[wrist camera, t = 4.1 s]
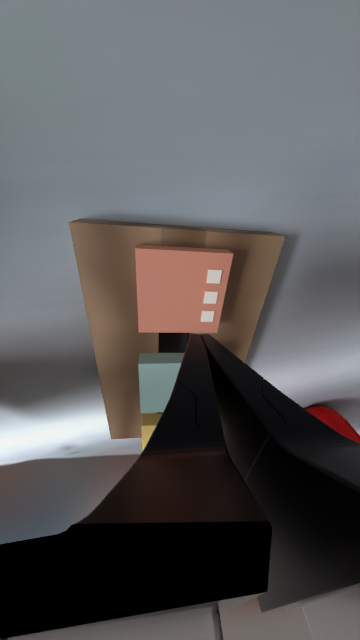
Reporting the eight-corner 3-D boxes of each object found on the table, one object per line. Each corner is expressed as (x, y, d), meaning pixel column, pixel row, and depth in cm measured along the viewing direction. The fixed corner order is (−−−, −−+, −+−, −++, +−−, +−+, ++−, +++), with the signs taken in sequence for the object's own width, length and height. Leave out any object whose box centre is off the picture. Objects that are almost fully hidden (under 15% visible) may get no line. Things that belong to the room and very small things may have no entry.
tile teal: (142, 386, 20) (140, 413, 18) (141, 339, 17) (138, 364, 15) (200, 384, 21) (206, 411, 18) (208, 339, 18) (217, 363, 15)
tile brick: (141, 312, 17) (138, 333, 15) (139, 239, 14) (135, 248, 12) (208, 313, 18) (217, 333, 15) (220, 244, 15) (233, 254, 12)
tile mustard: (144, 430, 24) (142, 458, 22) (143, 398, 21) (141, 426, 19) (192, 427, 25) (196, 454, 23) (197, 397, 22) (203, 423, 19)
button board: (114, 423, 26) (111, 439, 24) (79, 218, 14) (68, 221, 12) (217, 418, 28) (221, 432, 26) (271, 232, 15) (285, 236, 14)
